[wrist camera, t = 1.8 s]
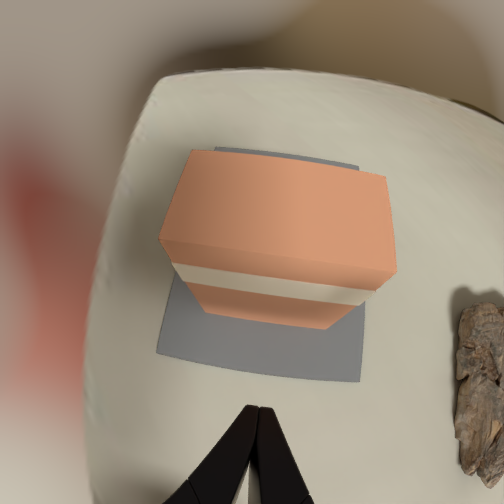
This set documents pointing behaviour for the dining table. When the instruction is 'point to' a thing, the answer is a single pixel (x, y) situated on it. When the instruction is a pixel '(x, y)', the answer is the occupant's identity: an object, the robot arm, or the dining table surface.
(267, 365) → the mat
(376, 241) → the tall box
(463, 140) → the dining table surface
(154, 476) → the dining table surface
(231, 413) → the dining table surface
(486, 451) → the weathered wood piece
